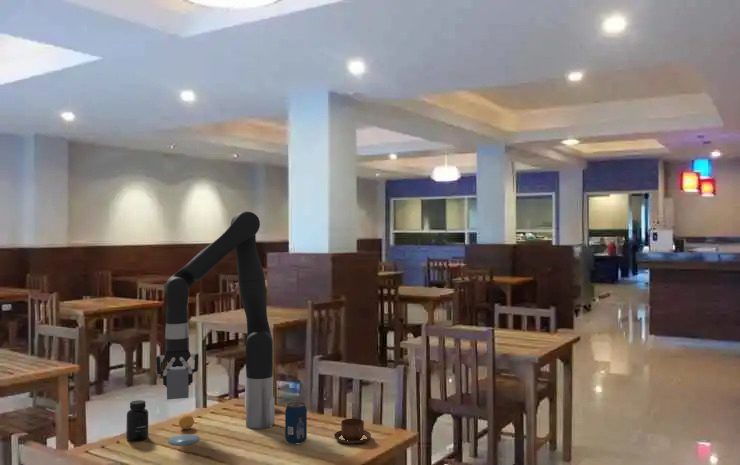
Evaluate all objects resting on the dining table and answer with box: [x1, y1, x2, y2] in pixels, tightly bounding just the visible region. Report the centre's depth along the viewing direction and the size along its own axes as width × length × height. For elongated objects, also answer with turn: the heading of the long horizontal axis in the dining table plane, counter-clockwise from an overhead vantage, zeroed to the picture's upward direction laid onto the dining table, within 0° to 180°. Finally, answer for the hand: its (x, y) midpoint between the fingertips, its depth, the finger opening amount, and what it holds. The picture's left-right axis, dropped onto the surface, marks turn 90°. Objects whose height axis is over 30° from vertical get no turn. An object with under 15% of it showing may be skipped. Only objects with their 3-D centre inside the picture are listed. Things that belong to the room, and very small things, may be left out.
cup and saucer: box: [333, 418, 372, 444], centre depth 212 cm, size 12×12×6 cm
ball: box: [178, 413, 195, 430], centre depth 223 cm, size 5×5×5 cm
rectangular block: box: [166, 366, 190, 400], centre depth 218 cm, size 7×9×9 cm
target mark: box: [167, 434, 201, 446], centre depth 212 cm, size 10×10×1 cm
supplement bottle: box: [125, 399, 149, 442], centre depth 213 cm, size 7×7×12 cm
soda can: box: [284, 401, 308, 445], centre depth 211 cm, size 7×7×12 cm
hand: (178, 385), depth 218 cm, fingers closed on rectangular block, 7 cm apart
